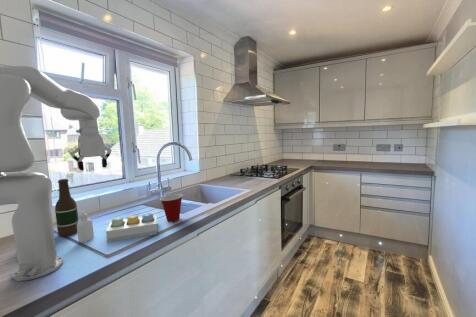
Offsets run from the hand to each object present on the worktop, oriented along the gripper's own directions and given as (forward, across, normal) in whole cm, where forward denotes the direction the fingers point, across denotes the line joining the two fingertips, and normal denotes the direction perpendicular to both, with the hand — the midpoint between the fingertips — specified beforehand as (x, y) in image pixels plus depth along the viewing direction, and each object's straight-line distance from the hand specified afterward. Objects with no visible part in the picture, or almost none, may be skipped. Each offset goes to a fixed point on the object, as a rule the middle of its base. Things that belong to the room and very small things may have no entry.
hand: (93, 168), depth 112 cm
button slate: (+24, +11, -27) cm, 37 cm away
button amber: (+24, +5, -24) cm, 34 cm away
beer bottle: (+27, -12, -1) cm, 30 cm away
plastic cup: (+27, +24, -26) cm, 44 cm away
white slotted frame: (+27, +5, -24) cm, 36 cm away
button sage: (+23, 0, -21) cm, 31 cm away
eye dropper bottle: (+27, -10, -15) cm, 33 cm away
